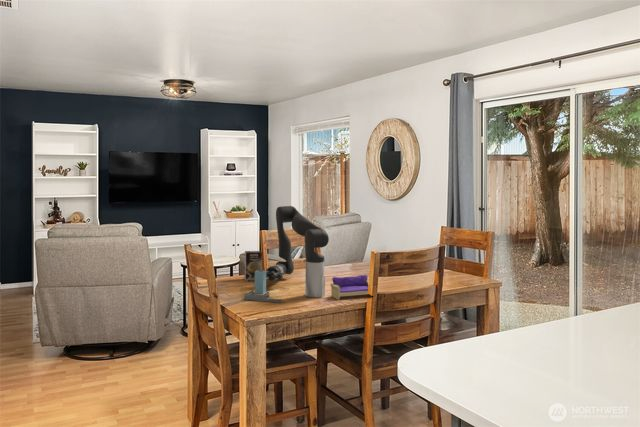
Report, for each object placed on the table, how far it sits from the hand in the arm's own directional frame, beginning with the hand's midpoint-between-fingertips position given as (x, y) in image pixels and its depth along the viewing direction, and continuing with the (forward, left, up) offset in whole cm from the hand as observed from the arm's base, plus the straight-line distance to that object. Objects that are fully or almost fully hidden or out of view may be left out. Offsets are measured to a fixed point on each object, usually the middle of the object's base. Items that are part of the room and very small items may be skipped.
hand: (264, 277), depth 282 cm
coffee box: (+16, -25, -7) cm, 30 cm away
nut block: (0, +5, -7) cm, 8 cm away
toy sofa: (-47, -1, -7) cm, 47 cm away
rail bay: (-8, +18, -7) cm, 21 cm away
